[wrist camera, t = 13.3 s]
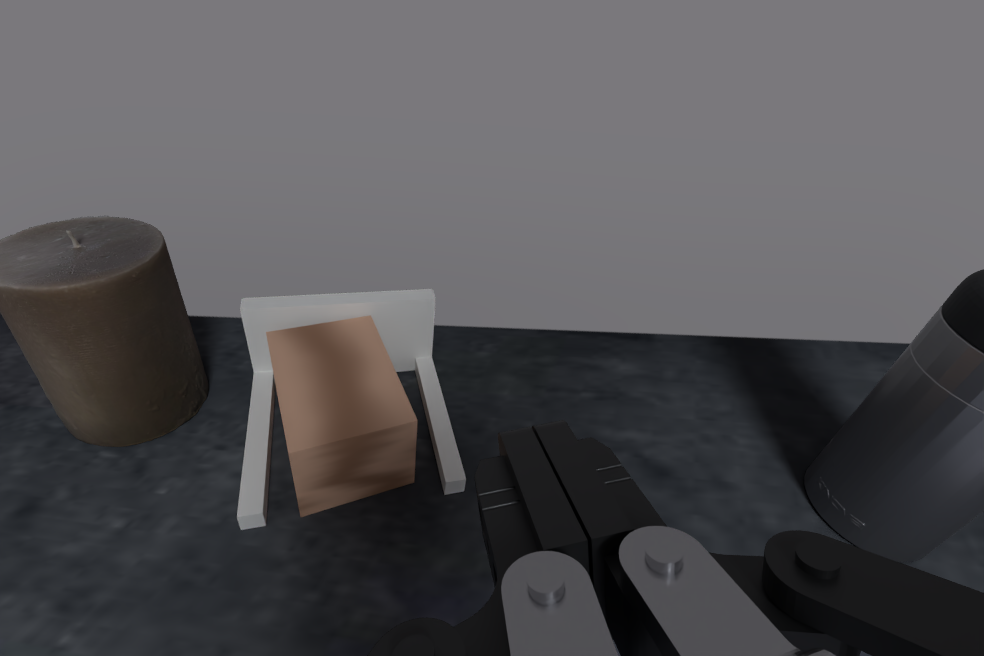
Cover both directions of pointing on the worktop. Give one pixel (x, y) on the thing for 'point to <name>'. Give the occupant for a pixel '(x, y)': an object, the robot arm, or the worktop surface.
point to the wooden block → (342, 413)
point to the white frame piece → (407, 344)
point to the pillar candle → (103, 327)
